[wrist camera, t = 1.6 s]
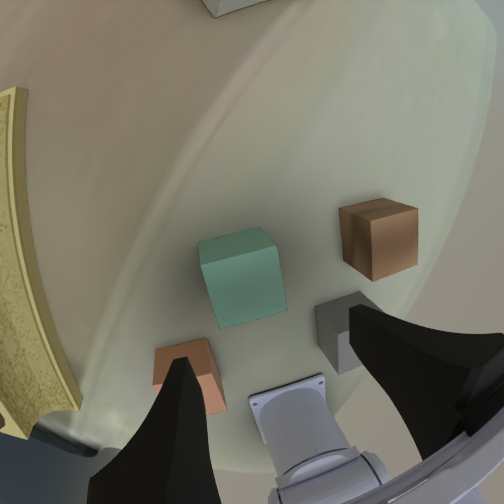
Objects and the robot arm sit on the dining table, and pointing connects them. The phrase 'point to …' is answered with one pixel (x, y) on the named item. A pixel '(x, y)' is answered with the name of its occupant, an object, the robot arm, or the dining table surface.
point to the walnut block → (379, 237)
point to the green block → (242, 277)
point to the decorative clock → (24, 296)
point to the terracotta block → (202, 368)
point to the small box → (227, 5)
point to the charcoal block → (339, 330)
